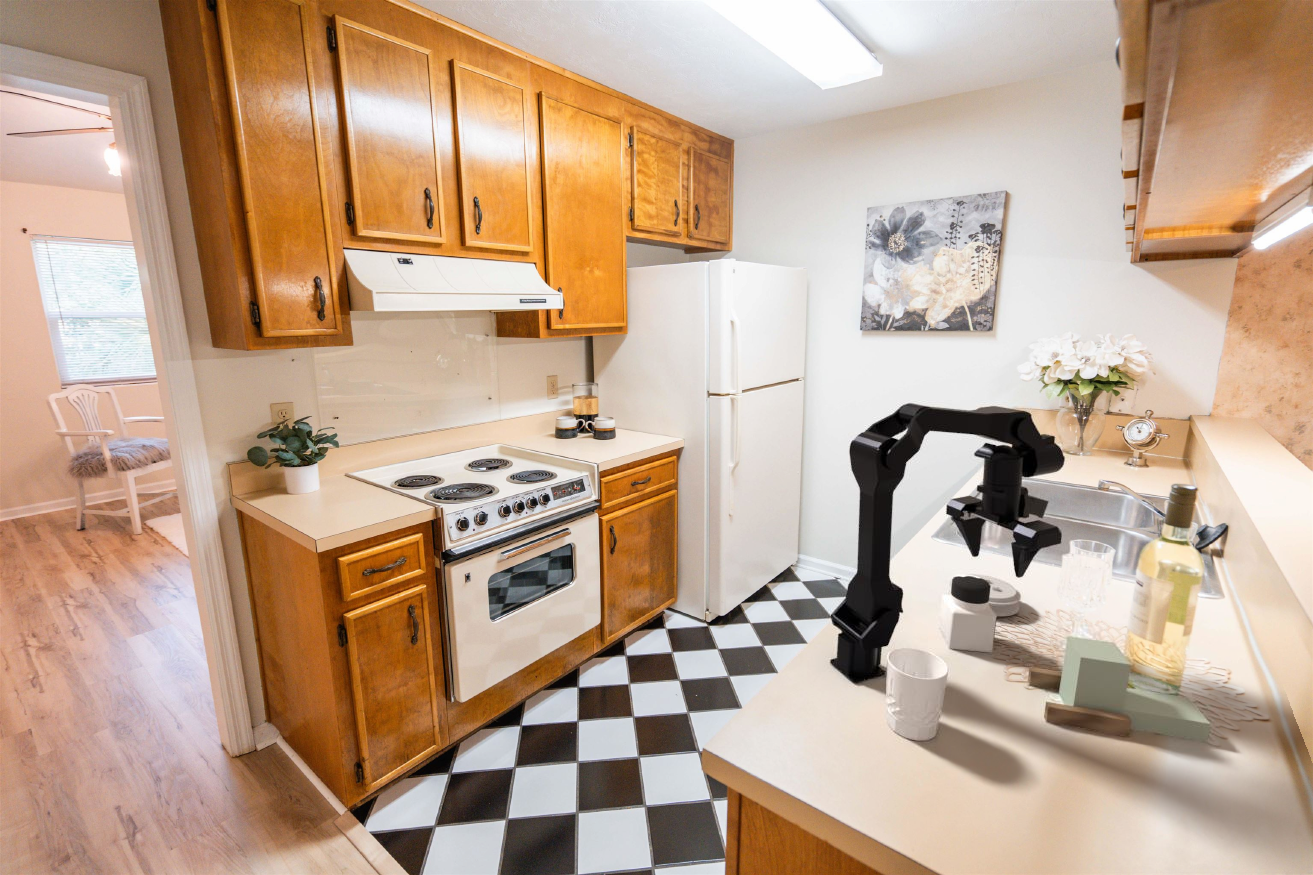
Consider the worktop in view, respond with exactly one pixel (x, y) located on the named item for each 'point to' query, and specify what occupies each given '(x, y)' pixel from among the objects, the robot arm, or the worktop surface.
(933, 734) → the white cup
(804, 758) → the worktop surface
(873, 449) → the robot arm
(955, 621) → the medicine bottle
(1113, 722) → the walnut slot
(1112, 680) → the key block
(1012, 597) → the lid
